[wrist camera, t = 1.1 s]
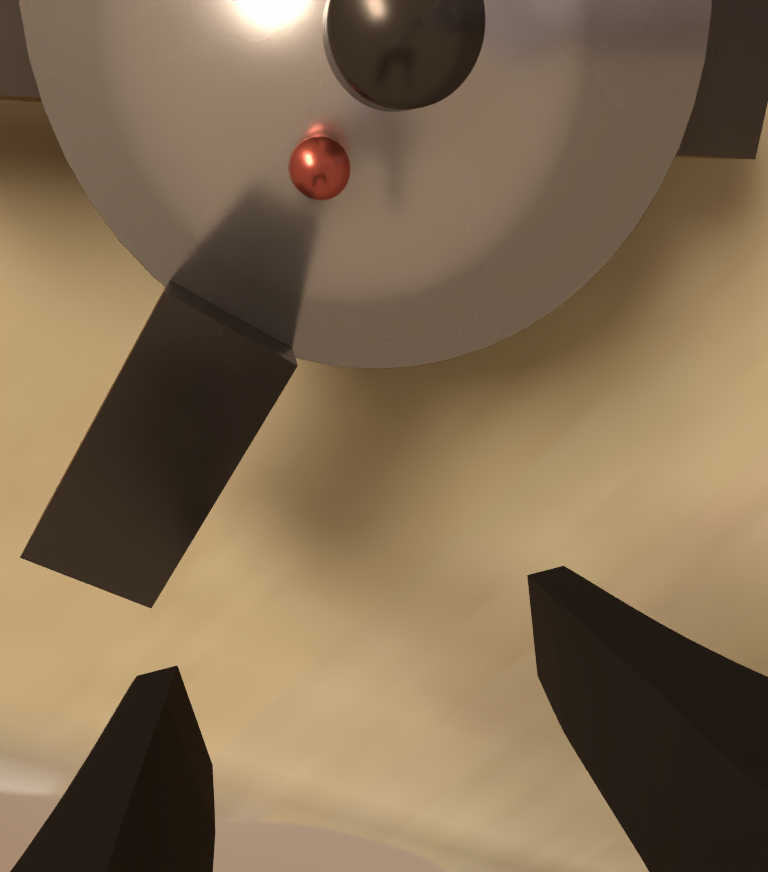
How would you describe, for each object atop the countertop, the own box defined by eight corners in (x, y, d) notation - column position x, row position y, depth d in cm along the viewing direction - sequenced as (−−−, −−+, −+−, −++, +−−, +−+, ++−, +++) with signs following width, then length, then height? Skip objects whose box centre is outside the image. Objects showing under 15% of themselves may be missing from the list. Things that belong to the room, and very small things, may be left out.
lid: (255, -653, 10) (261, -840, 8) (804, -54, 14) (892, -85, 12) (-201, 404, 13) (-271, 445, 11) (339, 628, 17) (352, 685, 15)
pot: (710, -173, 17) (859, -273, 13) (629, 302, 21) (724, 340, 17) (-253, -322, 13) (-468, -529, 9) (-126, 293, 17) (-237, 339, 13)
